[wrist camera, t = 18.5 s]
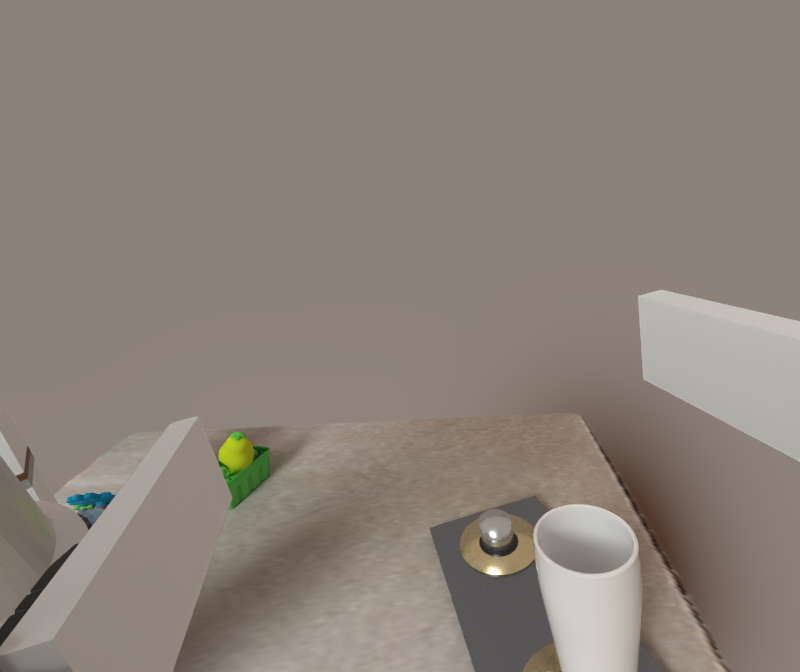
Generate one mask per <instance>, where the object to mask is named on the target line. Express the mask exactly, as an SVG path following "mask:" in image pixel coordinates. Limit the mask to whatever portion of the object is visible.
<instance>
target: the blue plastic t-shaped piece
mask: <svg viewBox="0 0 800 672" xmlns="http://www.w3.org/2000/svg"><path fill="white" fill-rule="evenodd" d="M115 496H116V495H111V492H104V493H101V494H95V493H85V495H80V494H75V495H73V497H68V499H67V503H69V505H74V509H73V510H78V513H79V512H82V511H89V510H87V509H90V510H91V509H93V508H95V507H96V508H101V509H104V510H105V509H106V507H107V505H109V504H110V502H111V501H112V500H113V498H114V497H115Z"/></svg>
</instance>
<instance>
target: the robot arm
mask: <svg viewBox="0 0 800 672" xmlns="http://www.w3.org/2000/svg"><path fill="white" fill-rule="evenodd" d="M638 304H639V318H640V333H641V350H642V365H643V379H644V380H646V381H648V382H650V383H652V384H654V385H656V386H657V387H659V388H661V389H663V390H665V391H667V392H669V393H671V394H673V395H675V396H676V397H678V398H681V399H682V400H684V401H686V402H688V403H690V404H692V405H693V406H695V407H697V408H699V409H701V410H703V411H705V412H707V413H709V414H711V415H712V416H714V417H716V418H718V419H720V420H722V421H724V422H726V423H728V424H729V425H731V426H733V427H735V428H737V429H739V430H741V431H743V432H745V433H746V434H748V435H750V436H752V437H754V438H756V439H758V440H760V441H762V442H764V443H765V444H767V445H769V446H771V447H773V448H775V449H777V450H779V451H781V452H782V453H784V454H786V455H788V456H790V457H792V458H794V459H796V460H798V461H800V322H799V321H795V320H791V319H786V318H782V317H777V316H773V315H769V314H765V313H761V312H756V311H752V310H747V309H743V308H738V307H734V306H730V305H725V304H721V303H717V302H713V301H708V300H704V299H700V298H695V297H691V296H686V295H682V294H677V293H673V292H669V291H665V290H659V291H655V292H651V293H648V294H644V295H641V296H638ZM231 501H232V495H231V493H230V490H229V488H228V486H227V483H226V481H225V478H224V476H223V473H222V471H221V468H220V466H219V464H218V461H217V459H216V456H215V454H214V451H213V449H212V446H211V444H210V442H209V439H208V437H207V434H206V432H205V429H204V427H203V425H202V422H201V420H200V417H199V416H195V417H191V418H188V419H184V420H180V421H177V422H173V423H170V425H169V426H168V427H167V429H166V430H165V431H164V433H163V434H162V435H161V437H160V438H159V439H158V441H157V442H156V443H155V444H154V446H153V447H152V448H151V450H150V451H149V452H148V454H147V455H146V456H145V458H144V459H143V460H142V462H141V463H140V464H139V465H138V467H137V468H136V469H135V471H134V472H133V473H132V475H131V476H130V477H129V479H128V480H127V481H126V483H125V484H124V485H123V486H122V488H121V489H120V490H119V492H118V493H117V494H116V496H115V497H114V498H113V500H112V501H111V502H110V504H109V505H108V506H107V507H106V509H105V510H104V509H101V508H93V509H91V510H89V511H82V512H79V513H77V514H76V513H75V512H74V511H73V510H71V509H69V508H68V507H66V506H63V505H60V504H57V503H51V502H45V501H34V500H33V498H32V497H31V496H30V494H29V493H28V492H27V490H26V489H25V488H24V486H23V485H22V484H21V482H20V481H19V480H18V478H17V477H16V476H15V474H14V473H13V472H12V470H11V469H10V468H9V466H8V465H7V464H6V462H5V461H4V460H3V458H2V457H1V456H0V672H173V670H174V667H175V664H176V661H177V658H178V655H179V652H180V649H181V646H182V643H183V640H184V638H185V635H186V632H187V629H188V626H189V623H190V620H191V617H192V614H193V611H194V608H195V606H196V603H197V600H198V597H199V594H200V591H201V588H202V585H203V582H204V579H205V577H206V574H207V571H208V568H209V565H210V562H211V559H212V556H213V553H214V550H215V547H216V545H217V542H218V539H219V536H220V533H221V530H222V527H223V524H224V521H225V518H226V515H227V513H228V510H229V507H230V504H231Z"/></svg>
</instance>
